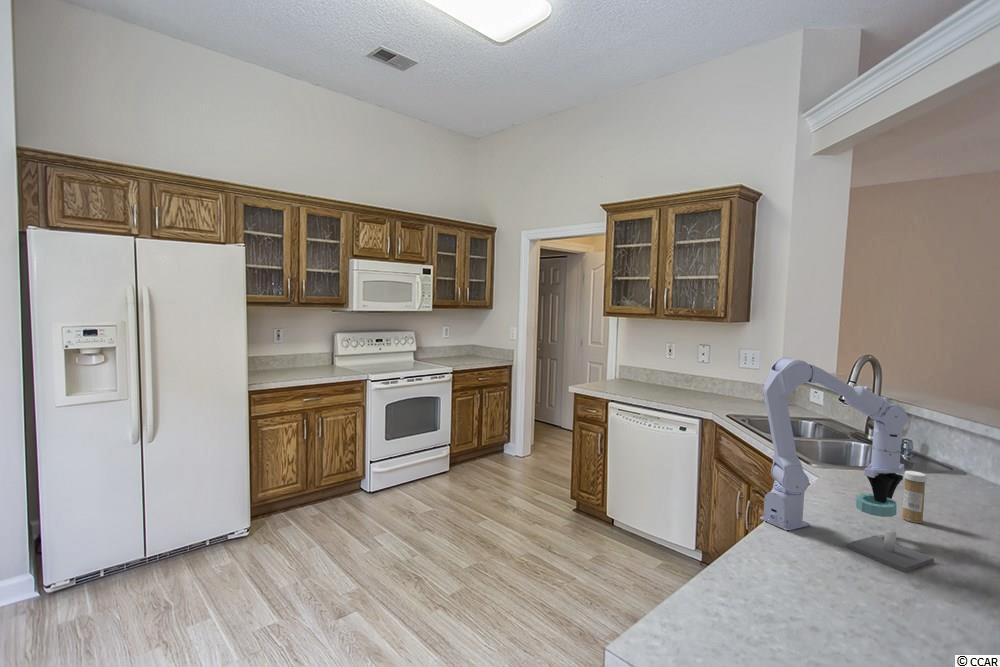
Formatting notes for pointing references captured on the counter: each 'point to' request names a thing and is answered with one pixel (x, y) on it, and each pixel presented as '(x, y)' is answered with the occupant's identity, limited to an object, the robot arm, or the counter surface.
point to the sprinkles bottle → (914, 496)
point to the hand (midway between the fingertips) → (882, 501)
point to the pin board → (890, 552)
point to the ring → (875, 506)
